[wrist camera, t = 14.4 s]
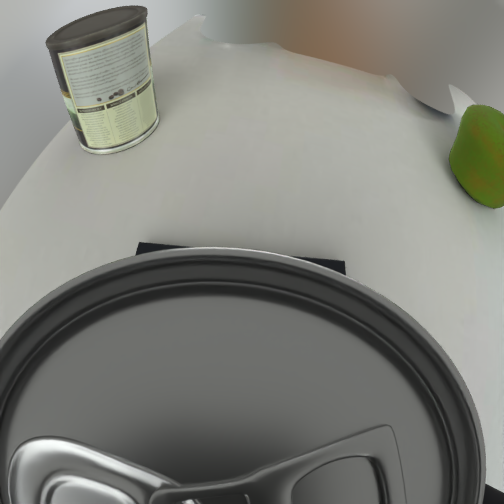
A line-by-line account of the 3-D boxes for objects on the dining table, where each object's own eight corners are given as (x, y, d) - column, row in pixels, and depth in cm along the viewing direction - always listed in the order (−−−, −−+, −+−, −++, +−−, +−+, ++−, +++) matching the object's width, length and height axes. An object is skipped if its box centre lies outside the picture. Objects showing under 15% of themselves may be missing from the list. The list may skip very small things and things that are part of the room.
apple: (441, 139, 36) (473, 81, 26) (501, 183, 33) (539, 134, 23) (432, 186, 30) (479, 114, 20) (504, 239, 28) (558, 184, 18)
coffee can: (63, 145, 29) (27, 46, 17) (116, 99, 34) (99, 8, 22) (122, 165, 28) (89, 40, 16) (176, 111, 33) (168, 3, 21)
